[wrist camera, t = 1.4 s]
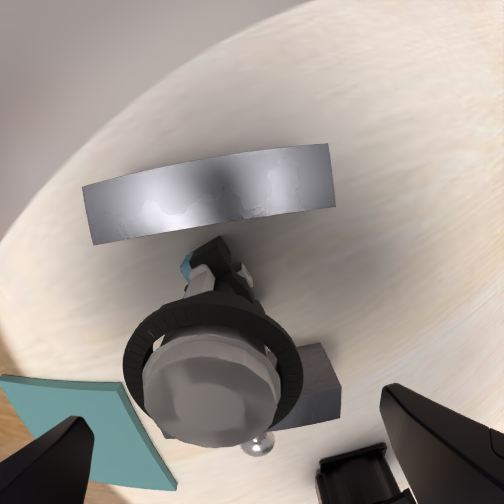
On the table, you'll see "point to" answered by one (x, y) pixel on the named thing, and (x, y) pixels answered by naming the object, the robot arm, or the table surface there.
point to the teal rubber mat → (93, 427)
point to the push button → (213, 358)
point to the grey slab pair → (225, 210)
